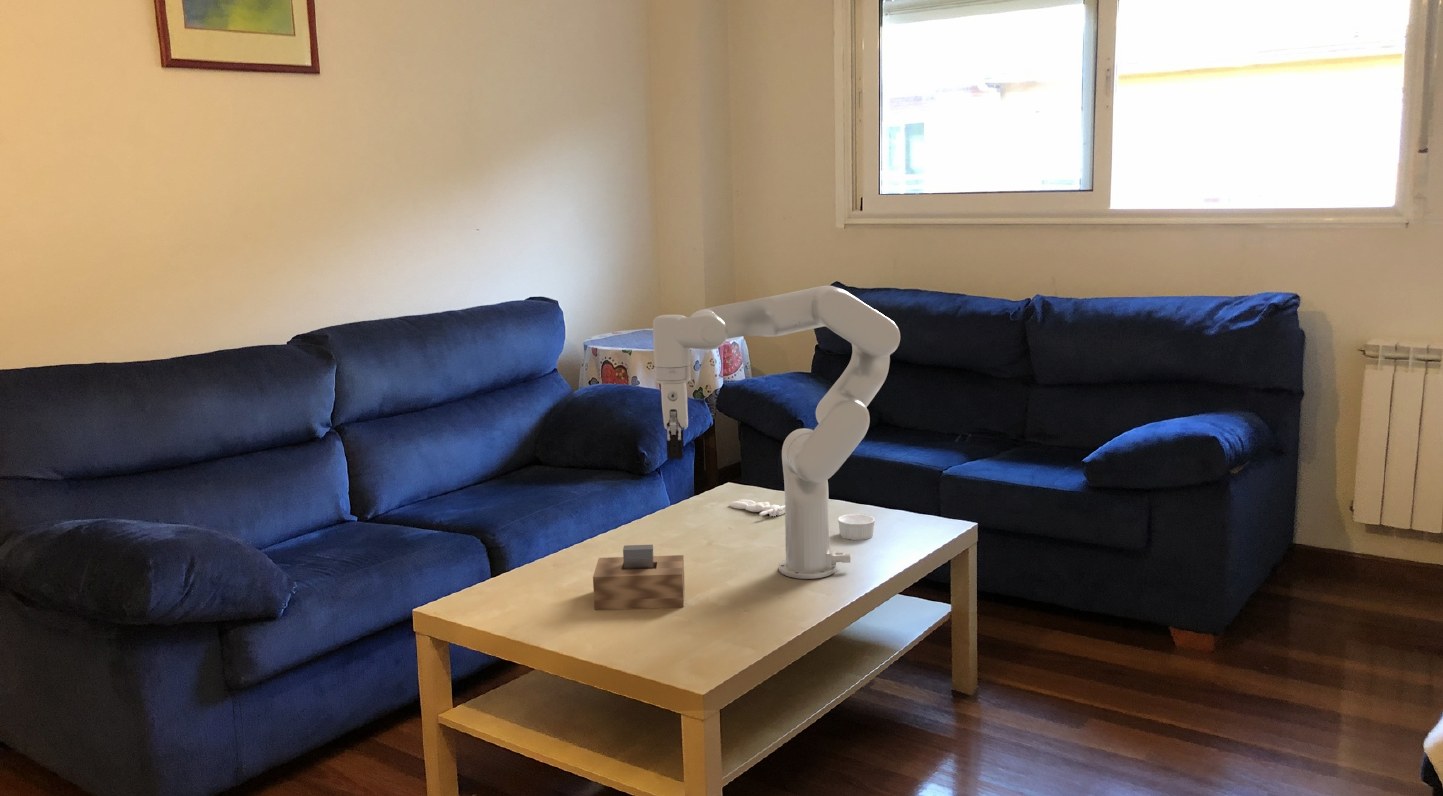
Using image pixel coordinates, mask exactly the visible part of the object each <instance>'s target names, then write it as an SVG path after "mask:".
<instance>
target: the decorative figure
mask: <svg viewBox="0 0 1443 796" xmlns="http://www.w3.org/2000/svg"><path fill="white" fill-rule="evenodd" d="M728 505H729V506H730V507H731V508H734V509H737V510H746V511H748V512H752V513H758V514H759V516H761V517H762V516H765V515H768V514H769V517H770V516H775V517H779V516H781V514H782V512H781V511H783V510H785V504H784V505H781V506H780V505H778V504H772V505H771V504H770V502H769V501H762V502H761V501H759V502H756V501H754V500H751V499H738V500H737V501H735V500H734V501H731V502H729V504H728ZM776 515H778V516H776Z"/></svg>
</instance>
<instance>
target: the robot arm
mask: <svg viewBox="0 0 1443 796" xmlns="http://www.w3.org/2000/svg"><path fill="white" fill-rule="evenodd" d="M823 327H826V328H827V329H828V330H830V331H832V332H833V333H834V334H836V335H838V336H839V337H841V338H842V339H844V340H846V341H847V342H849V343H850V344H851V347H852V348H851V349H852V351H851V352H852V353H851V358H850V360H849V363H848V365H847V367H846V368H845V369H844V371H843V372H842V374H840V377H838V379H837V380H836V381H835V382H834V384H833V385H832V386H831V387H830V388H829V390H828V391H827V392H826V393H825V394H824V396H823V397H822V398H821V399H820V400H819V402H818V403H817V406H816V408H815V418H816V421H817V423H818V424H817V425H816V426H815V427H814V429H811V428H797V429H795V430H793V431H792V432H790V433H789V434H788V435H787V436H786V438H785V440H784V441H783V444H782V447H781V448H782V449H781V462H782V464H781V465H782V472H783V473H782V474H783V480H784V481H783V483H784V505H785V509H784V523H785V524H784V525H785V527H784V528H785V533H784V534H785V559H784V560H782V561H781V562H779V564H778V570H779V572H780V573H781V574H782V575H784V576H787V577H790V578H794V579H798V580H799V579H801V580H813V579H814V580H815V579H821V578H826V577H829V576H831V575H833V574H834V573H836V571H837V563H842V564H845V563H851V554H850V553H844V551H833V550H831V548H830V543H829V542H830V535H829V534H830V533H829V531H830V530H829V529H830V528H829V527H830V525H829V524H830V523H829V502H830V501H829V482H828V480H829V479H831V478H832V476H834V475H835V474H836V473H837V472H838V471H839V470H840V468H841V467H842V465H843V464H844V463H845V462H846V461H847V459H848V458H850V456H851V455H852V453H853V452H854V451H855V449H856V448H857V447H858V446H859V444H861V441H862V440H863V439H864V438H865V437H866V434H867V432H868V430H869V427H870V424H871V423H870V422H871V421H870V420H871V418H870V412H869V409H868V408H867V407H868V406H869V405H870V403H871V402H872V401H873V399H874V398H875V396H876V395H877V393H878V392H879V391H880V389H881V388H882V386H883V384H884V383H885V381H886V379H887V376H888V373H889V369H890V363H891V357H890V356H891V355H893V353H894V352H895V351H896V350H897V349H898V347H899V346H900V341H901V332H900V329H899V327H898V325H897V324H896V323H895V321H894V320H892V319H891V318H889V317H888V316H885V315H884V314H883V313H881V312H879V311H878V310H877V309H874V308H873V307H871V306H870V305H868V304H866V303H865V302H863V301H862V300H860V299H859V298H858V297H856V296H855V295H853V294H851V293H850V292H849V291H847V290H845V289H843V288H840V287H836V286H834V285H820V286H814V287H811V288H807V289H801V290H796V291H791V292H786V293H781V294H776V295H772V296H771V295H770V296H765V297H759V298H755V299H750V300H743V301H738V302H732V303H727V304H722V305H717V306H716V305H715V306H712V307H707V308H704V309H699V310H696V311H695V312H694V313H692V314H691V315H690V316H689V317H688V316H685V315H684V314H673V313H672V314H661V315H658V316H656V317H655V318H653V321H652V332H653V359H654V360H653V361H654V381H655V383H658V384H660V388H661V389H660V390H661V392H660V393H661V394H660V395H661V408H662V419H663V426H664V429H665V430H667V431H666V432H667V439H666V455H667V459H668V460H682V459H683V458H684V457H683V456H684V455H683V454H684V453H683V449H684V445H685V444H684V443H685V442H684V441H685V440H684V430H687V428H688V427H689V413H688V412H689V409H688V389H687V387H688V386H687V383H688V382H690V381H692V378H691V376H692V374H691V373H692V371H691V349H692V350H703V351H711V350H712V351H713V350H716V349H718V348H720V347H722V346H723V345H724V344H725V343H726V341H727V340H728V339H733V338H741V337H747V336H751V337H753V336H754V337H755V336H756V337H766V338H767V337H768V338H770V337H771V338H772V337H780V336H785V335H790V334H793V333H797V332H804V331H807V330H814V329H817V328H818V329H819V328H823Z"/></svg>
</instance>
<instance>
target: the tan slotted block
mask: <svg viewBox="0 0 1443 796" xmlns="http://www.w3.org/2000/svg"><path fill="white" fill-rule="evenodd" d="M684 556H685V555H684V554H681V555H678V554H677V555H653V559H654V569H630V570H624V560H623V556H616V557H614V556H613V557H598V559H597V561H596V562H597V563H596V565H595V570H594V572H593V575H592V582H593V583H592V585H593V586H592V587H593V603H594V605H593V606H594V607H593V608H594V611H605V610H608V611H609V610H634V609H635V610H639V609H640V610H641V609H665V608H667V609H668V608H669V609H671V608H672V609H673V608H684V606H685V605H684V601H685V589H686V588H685V560H684V558H685V557H684Z"/></svg>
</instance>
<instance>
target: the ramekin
mask: <svg viewBox="0 0 1443 796" xmlns="http://www.w3.org/2000/svg"><path fill="white" fill-rule="evenodd" d="M875 520H876V519H875V518H874V516H871V515H867V514H862V513H848V514H844V515H840V516H839V517H838V518H837V522H838V526H839V535H841V536H842V537H841V536H840V537H841V538H843V537H844V538H843V539H845V538H846V540H849V539H851V540H850V541H863V540H864V539H865V540H868V538H869V539H871V538H872V537H873V535H874V526H875V522H876V521H875ZM870 537H871V538H870Z"/></svg>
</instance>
